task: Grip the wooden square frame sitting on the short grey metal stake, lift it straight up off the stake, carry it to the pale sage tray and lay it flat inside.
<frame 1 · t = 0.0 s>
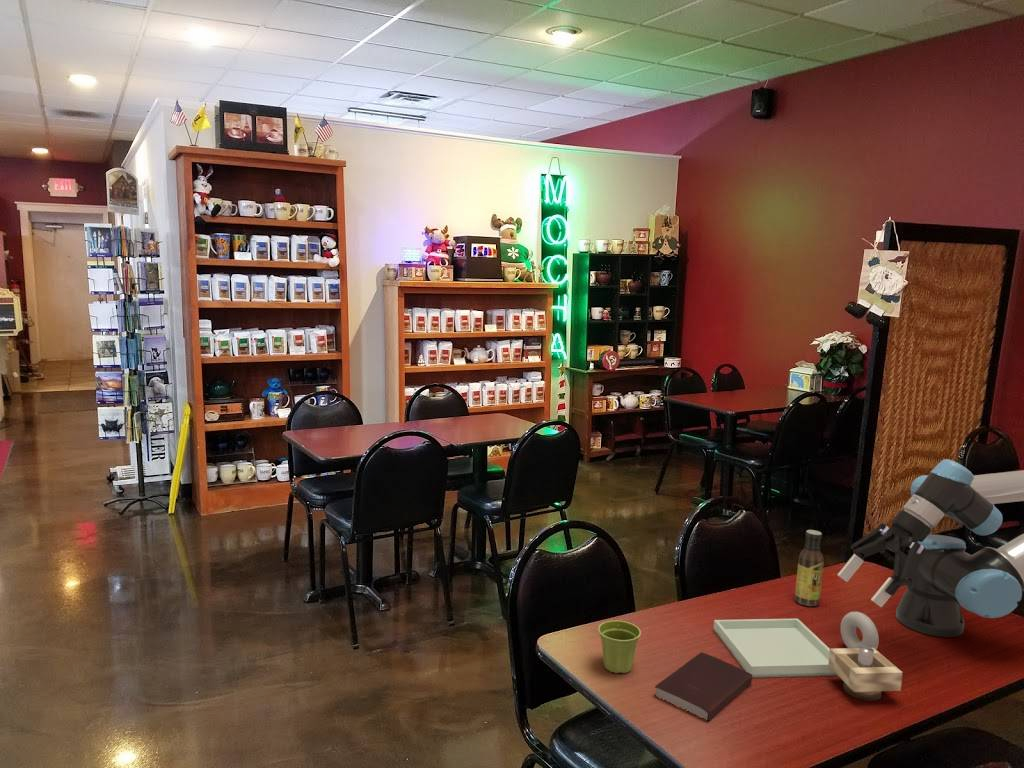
hand: (858, 590, 165), 15 cm above the table, tool tilted 35°, fingers open, 13 cm apart
donut: (857, 654, 167), on the table
sage tray: (775, 651, 167), on the table
book: (703, 693, 150), on the table
plant pot: (617, 667, 158), on the table
sauce bottle: (807, 603, 193), on the table
wooden square frame: (863, 677, 150), point 3 cm above the table, touching metal stake
metal stake: (862, 691, 151), on the table
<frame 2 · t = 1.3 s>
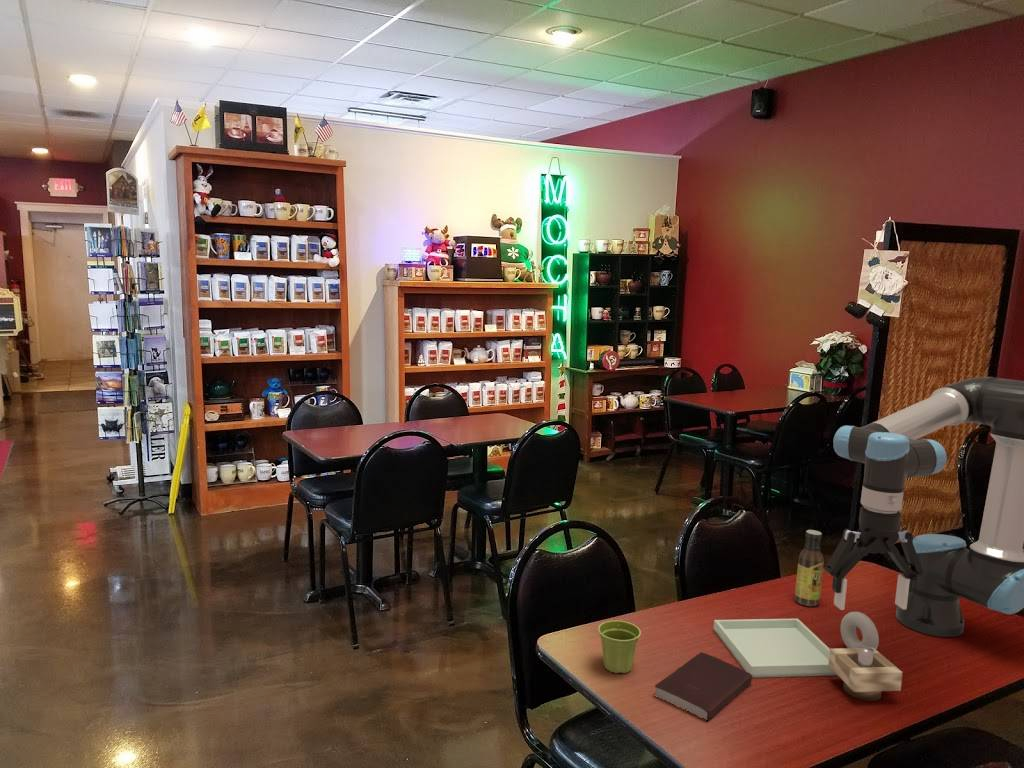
hand: (869, 606, 148), 19 cm above the table, tool pointing down, fingers open, 13 cm apart
nothing on the table moved.
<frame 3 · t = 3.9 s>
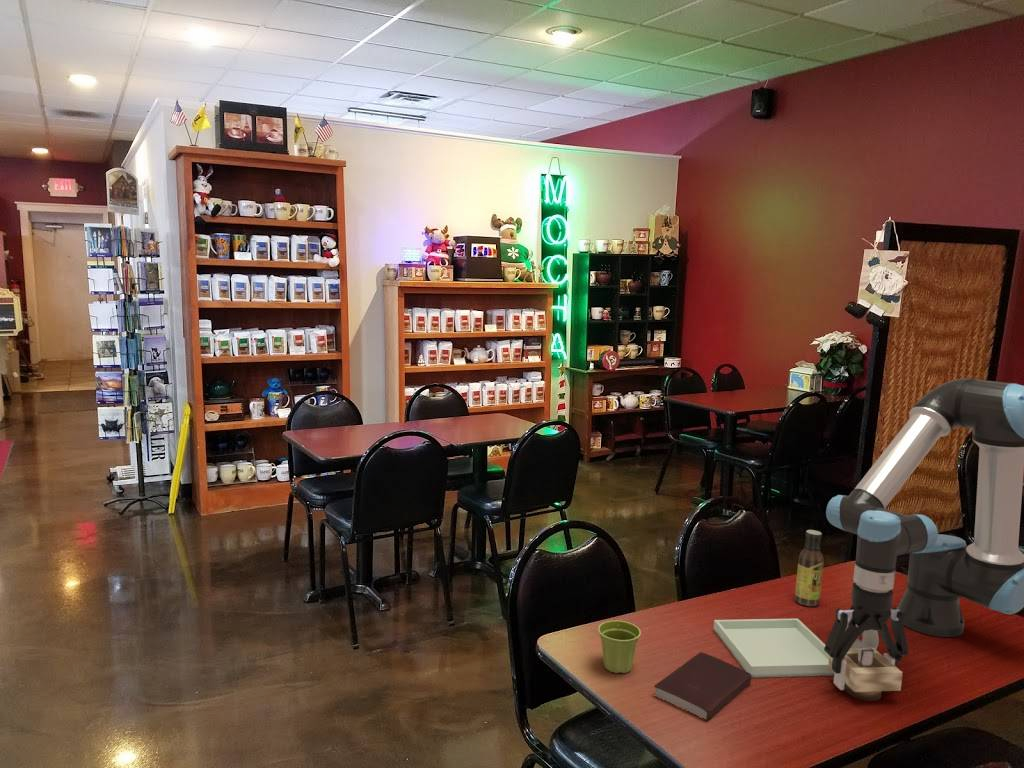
hand: (862, 685, 151), 1 cm above the table, tool pointing down, fingers closed on wooden square frame, 10 cm apart
wooden square frame: (863, 677, 151), point 3 cm above the table, touching gripper, metal stake
everything else where it was.
when the fingers open (1 cm above the table, at t = 10.8 s): wooden square frame drops 3 cm, resting on sage tray.
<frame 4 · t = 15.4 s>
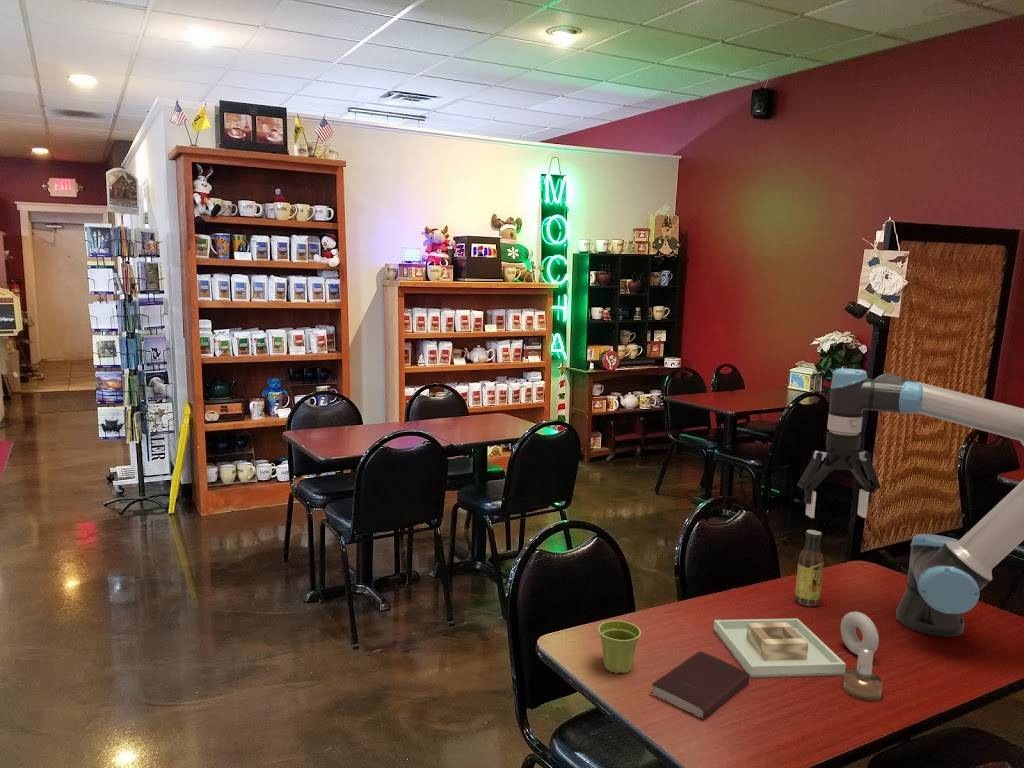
hand: (835, 516, 176), 29 cm above the table, tool pointing down, fingers open, 13 cm apart
wooden square frame: (775, 648, 166), point 1 cm above the table, touching sage tray
everything else where it was.
at the end: wooden square frame inside the target area on the sage tray (0.0 cm from its centre), point 0.6 cm above the sage tray's base; wooden square frame tilted 0°; the gripper is holding nothing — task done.
